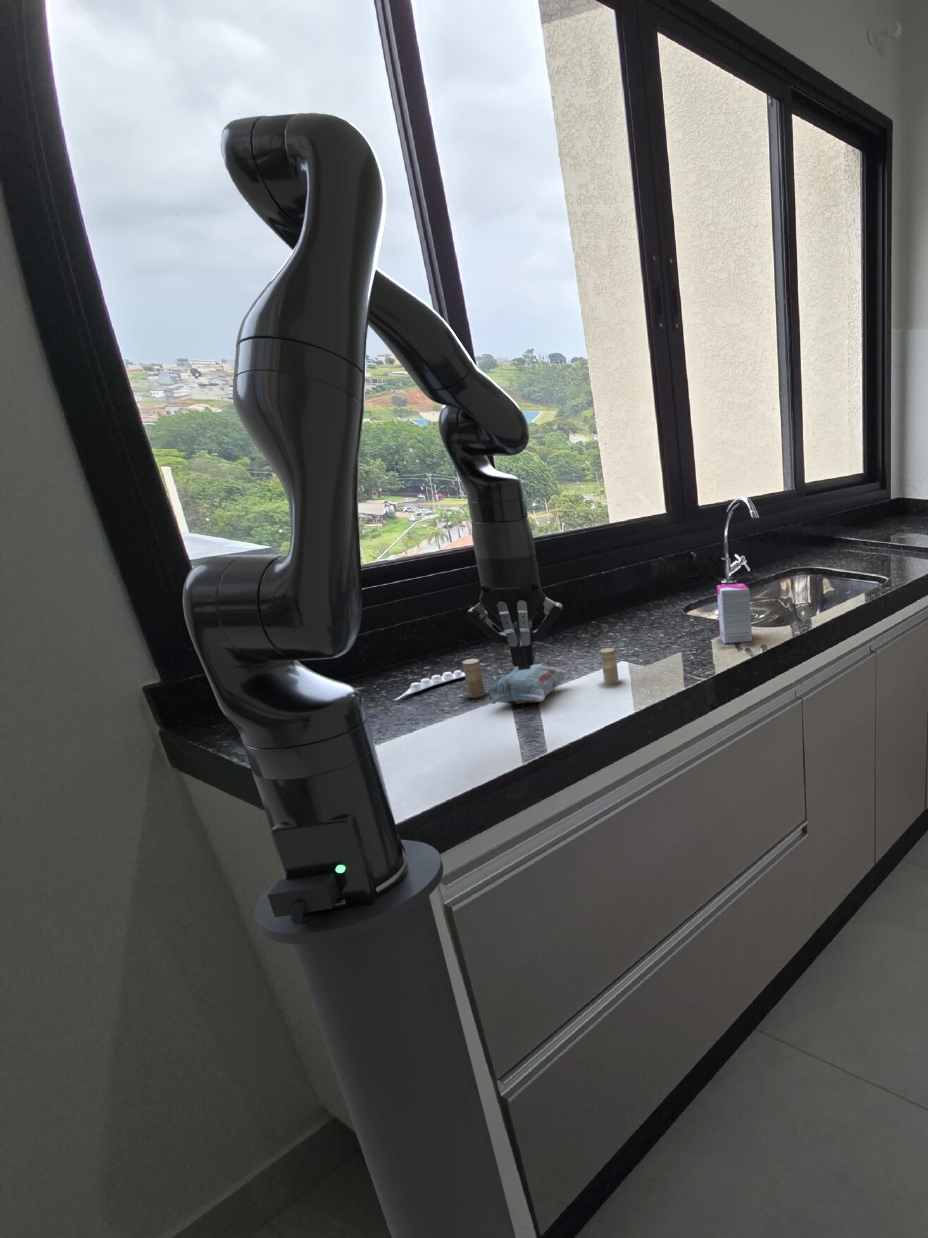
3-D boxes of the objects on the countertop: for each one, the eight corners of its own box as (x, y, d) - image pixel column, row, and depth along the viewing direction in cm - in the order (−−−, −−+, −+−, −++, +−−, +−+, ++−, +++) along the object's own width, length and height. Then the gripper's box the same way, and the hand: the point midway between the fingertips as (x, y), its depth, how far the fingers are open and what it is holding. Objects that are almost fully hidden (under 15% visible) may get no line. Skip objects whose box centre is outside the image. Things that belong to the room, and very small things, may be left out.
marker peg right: (618, 684, 128) (614, 651, 126) (604, 685, 128) (599, 652, 125) (619, 679, 130) (615, 647, 128) (604, 680, 130) (600, 648, 128)
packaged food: (572, 684, 128) (568, 657, 126) (544, 711, 117) (538, 682, 115) (522, 685, 127) (516, 658, 126) (488, 712, 116) (481, 683, 115)
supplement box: (753, 643, 151) (749, 588, 147) (724, 646, 148) (719, 591, 144) (747, 635, 156) (744, 582, 152) (719, 638, 153) (714, 584, 149)
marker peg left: (484, 697, 122) (477, 662, 120) (467, 698, 121) (460, 664, 119) (486, 691, 124) (480, 658, 122) (470, 693, 123) (463, 659, 121)
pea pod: (469, 670, 133) (467, 662, 133) (484, 675, 131) (483, 666, 131) (381, 697, 121) (378, 688, 121) (396, 703, 119) (394, 694, 118)
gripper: (445, 558, 98) (469, 680, 104) (553, 554, 102) (571, 672, 108) (458, 549, 105) (480, 664, 111) (559, 545, 109) (575, 656, 115)
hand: (525, 668), depth 109 cm, fingers closed
